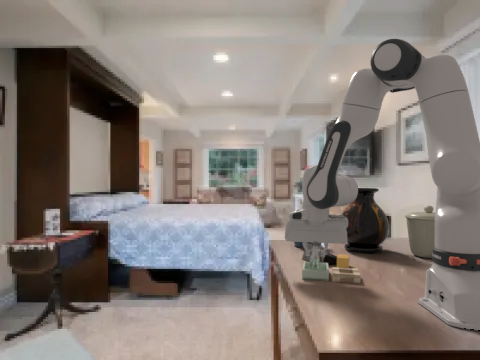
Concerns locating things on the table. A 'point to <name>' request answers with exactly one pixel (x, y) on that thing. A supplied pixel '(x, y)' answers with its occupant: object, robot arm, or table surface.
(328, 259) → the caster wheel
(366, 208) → the amphora vase
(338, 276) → the pin stand
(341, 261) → the chock
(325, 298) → the table surface
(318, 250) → the stop pin
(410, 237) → the canister
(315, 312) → the table surface
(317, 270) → the tray
